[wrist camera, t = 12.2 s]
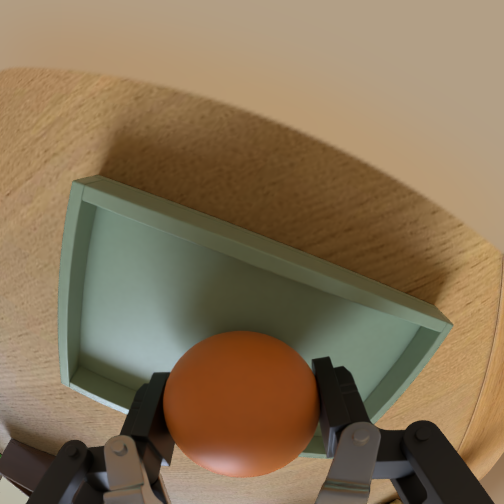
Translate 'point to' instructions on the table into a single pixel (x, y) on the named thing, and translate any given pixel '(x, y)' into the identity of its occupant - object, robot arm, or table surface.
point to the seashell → (396, 502)
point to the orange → (241, 404)
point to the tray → (218, 300)
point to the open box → (25, 466)
